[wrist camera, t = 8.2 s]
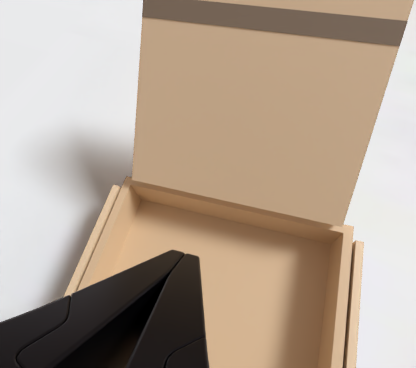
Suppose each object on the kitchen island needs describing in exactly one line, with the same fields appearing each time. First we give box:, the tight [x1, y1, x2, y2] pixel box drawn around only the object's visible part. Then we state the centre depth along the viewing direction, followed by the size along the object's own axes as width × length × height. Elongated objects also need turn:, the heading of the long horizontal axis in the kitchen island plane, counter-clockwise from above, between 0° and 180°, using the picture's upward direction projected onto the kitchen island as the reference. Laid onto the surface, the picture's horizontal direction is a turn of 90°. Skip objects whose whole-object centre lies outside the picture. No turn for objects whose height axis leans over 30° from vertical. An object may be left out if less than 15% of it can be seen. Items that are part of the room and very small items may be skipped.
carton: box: [64, 176, 364, 368], centre depth 17 cm, size 13×15×3 cm
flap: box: [132, 0, 414, 227], centre depth 16 cm, size 1×12×11 cm
